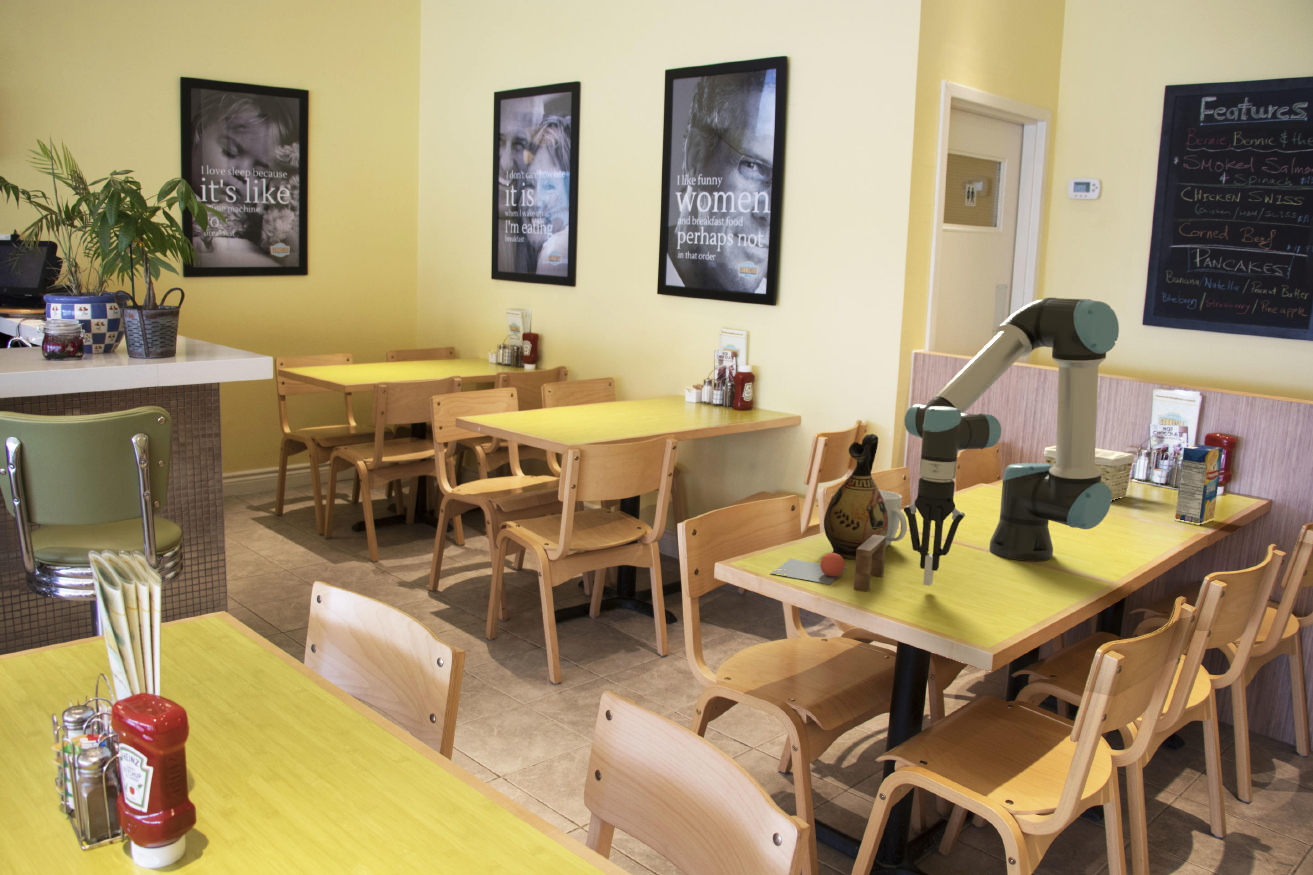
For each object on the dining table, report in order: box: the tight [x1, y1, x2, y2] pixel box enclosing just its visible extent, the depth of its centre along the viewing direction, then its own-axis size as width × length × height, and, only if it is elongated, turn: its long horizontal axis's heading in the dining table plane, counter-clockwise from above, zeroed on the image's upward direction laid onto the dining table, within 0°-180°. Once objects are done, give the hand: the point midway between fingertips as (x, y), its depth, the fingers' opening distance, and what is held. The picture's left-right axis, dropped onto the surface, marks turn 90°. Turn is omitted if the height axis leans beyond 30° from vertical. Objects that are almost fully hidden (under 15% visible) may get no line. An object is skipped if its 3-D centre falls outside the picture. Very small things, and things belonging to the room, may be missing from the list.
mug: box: [879, 489, 908, 547], centre depth 262 cm, size 15×11×13 cm
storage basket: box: [1043, 445, 1135, 501], centre depth 335 cm, size 24×16×15 cm
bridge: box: [853, 534, 887, 592], centre depth 231 cm, size 3×14×9 cm, turn 154°
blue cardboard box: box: [1174, 444, 1224, 523], centre depth 302 cm, size 7×11×22 cm, turn 132°
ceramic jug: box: [823, 433, 888, 560], centre depth 251 cm, size 17×15×30 cm
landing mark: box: [769, 558, 848, 586], centre depth 237 cm, size 14×14×1 cm
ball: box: [819, 552, 846, 577], centre depth 234 cm, size 6×6×6 cm
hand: (927, 583), depth 226 cm, fingers closed
